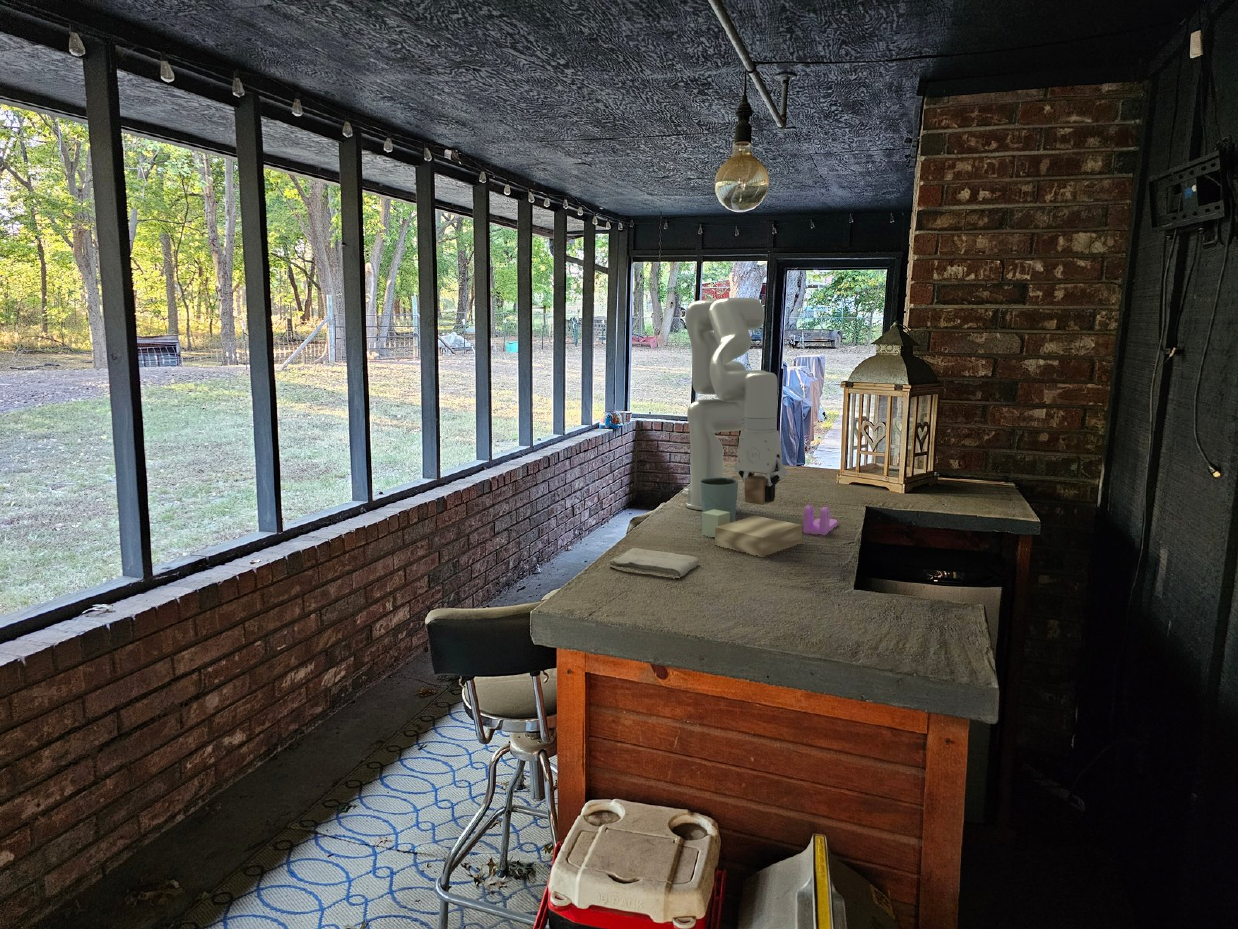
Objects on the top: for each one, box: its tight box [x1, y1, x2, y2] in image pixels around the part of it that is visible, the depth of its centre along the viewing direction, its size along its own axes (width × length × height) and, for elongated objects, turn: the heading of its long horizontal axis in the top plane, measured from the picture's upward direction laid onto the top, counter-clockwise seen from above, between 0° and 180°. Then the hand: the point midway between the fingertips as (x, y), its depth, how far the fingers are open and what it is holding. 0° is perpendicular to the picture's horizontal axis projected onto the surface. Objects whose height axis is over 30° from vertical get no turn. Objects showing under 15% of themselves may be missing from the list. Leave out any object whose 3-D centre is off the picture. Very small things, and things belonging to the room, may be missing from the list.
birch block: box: [714, 515, 803, 558], centre depth 189 cm, size 14×16×5 cm
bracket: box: [802, 504, 838, 536], centre depth 202 cm, size 13×6×7 cm, turn 148°
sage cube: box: [701, 509, 730, 538], centre depth 197 cm, size 5×5×6 cm
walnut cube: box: [744, 474, 775, 506], centre depth 186 cm, size 5×5×6 cm
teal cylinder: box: [700, 476, 739, 523], centre depth 207 cm, size 10×10×12 cm
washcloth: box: [608, 547, 700, 577], centre depth 172 cm, size 12×18×3 cm, turn 63°
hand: (759, 499), depth 187 cm, fingers closed on walnut cube, 5 cm apart
